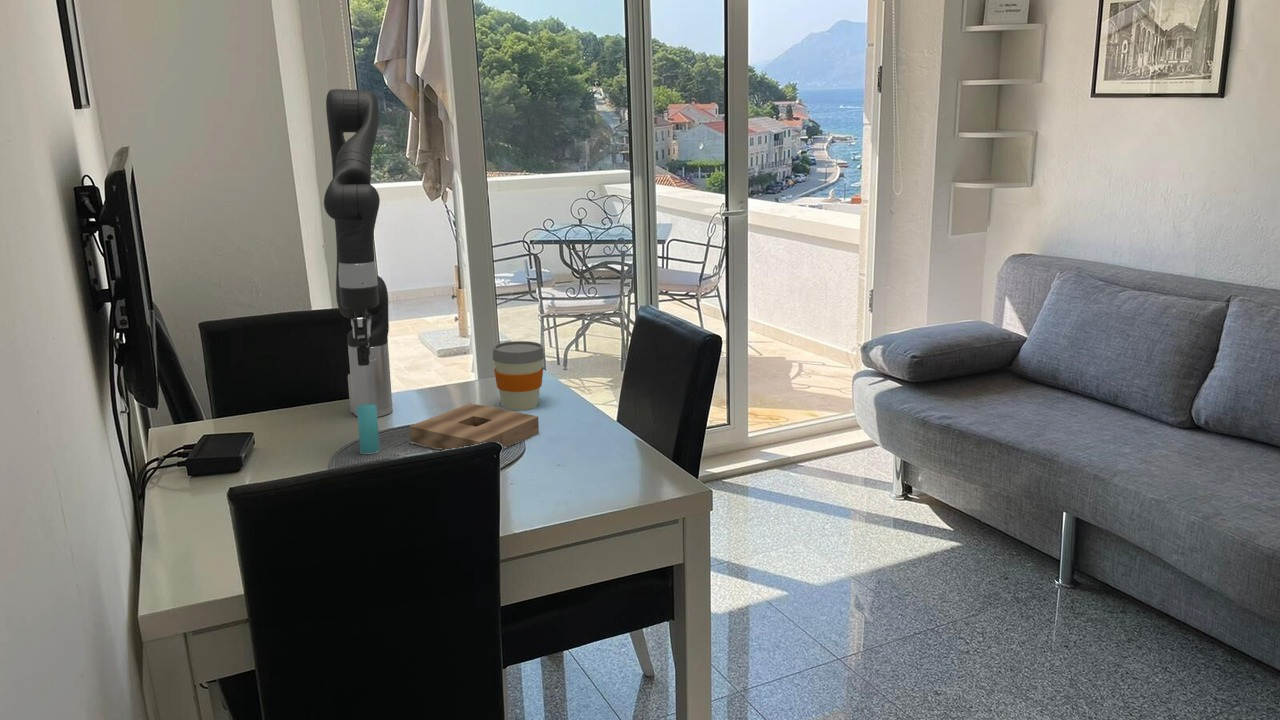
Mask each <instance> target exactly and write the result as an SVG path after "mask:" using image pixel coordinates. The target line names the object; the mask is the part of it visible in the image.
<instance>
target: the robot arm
mask: <svg viewBox="0 0 1280 720" xmlns="http://www.w3.org/2000/svg"><path fill="white" fill-rule="evenodd" d="M377 97H378V96H377V95H376V94H375V92H373V91H371V90H367V89H343V88H339V89H338V88H335V89H329V91H327V93H326V99H325V100H326V101H325V103H326V104H325V109H326V110H325V111H326V120H327V121H326V123H327V127H328V128H327V130H328V138H329V139H328V140H329V145H330V156H331V167H332V171H331V172H332V178H331V179H332V180H331V181H329V184H328V186H327V187H326V188H327V189H326V190H325V193H324V198H323V207H324V210H325V212H326V215H328V217H330V218H331V219H333V220H334V224H335V225H334V226H335V228H334V229H335V236H336V237H335V239H336V240H335V243H336V271H335V272H336V273H335V274H336V277H335V279H336V280H335V293H336V295H335V296H336V302H337V303H336V304H337V307H338V310H339V312H340V314H341V315H342V316H343V317H344V318H347V319H350V324H351V325H350V326H351V327H352V330H350V331H348V333H347V337H346V339H347V349H348V350H347V351H348V352H347V353H348V362H349V372H350V373H348V374H347V383H348V384H347V385H348V398H349V408H350V413H353V416H356V417H357V406H359V405H363V404H374V405H376V408H377V418H378V417H384V416H387V415H389V414H391V413H392V412H393V410H394V409H393V398H392V397H393V395H392V382H391V367H390V354H389V353H390V352H389V338H388V336H389V330H390V327H389V325H390V323H389V295H388V293H389V292H388V288H387V285H386V282H385V281H384V279H383V278H382V277H381V276H379V275H378V271H377V267H376V262H375V249H374V237H375V236H374V233H375V228H376V227H375V226H376V223H377V217H378V213H379V208H380V204H381V203H380V201H381V200H380V199H381V198H380V194H379V191H378V190H377V189H376V188H375V187H374V186H373V185H372V184H371V181H372V179H371V178H372V158H373V156H372V155H373V151H374V148H375V143H376V140H377V136H378V131H379V123H380V108H379V107H380V106H379V101H378V98H377ZM344 133H354V134H353V135H352V136H351V137H350V138H349V139H347V140H346V139H345V135H344Z"/></svg>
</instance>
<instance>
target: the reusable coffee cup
mask: <svg viewBox="0 0 1280 720" xmlns="http://www.w3.org/2000/svg"><path fill="white" fill-rule="evenodd" d="M544 358H545V353H544V346H543V345H542V344H541V343H539V342H535V341H526V340H525V341H524V340H519V341H518V340H517V341H516V340H515V341H506V342H505V341H504V342H501V343H497V344H496V345H494V346H493V350H492V360H493V361H494V367H495V368H494V369H493V371H494V377H495V382H496V388H497V389H498V390H499V396H500V403H501V407H502V408H503V409H504V410H508V411H514V412H517V411H518V412H519V411H529V410H533V409H535V408H537V407H538V406H539V400H540V399H539V398H540V388H541V387H542V386H543V385H542V384H543V375H544V366H543V359H544Z"/></svg>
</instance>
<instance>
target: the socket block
mask: <svg viewBox="0 0 1280 720" xmlns="http://www.w3.org/2000/svg"><path fill="white" fill-rule="evenodd" d="M539 423H540V422H539V416H538V415H534V414H533V415H532V414H528V413H522V412H519V411H518V412H517V411H514V410H507V409H504V408H503V409H502V408H497V407H492V406H488V405H487V406H486V405H481V404H478V403H477V404H475V403H471V402H469V403H467V404H465V405H462V406H459V407H456V408H453V409H451V410H449V411H446V412H443V413H441V414H439V415H435V416H433V417H430V418H428V419H425V420H422V421H420V422H417V423H415V424H412V425H409V440H410V441H412V442H416V443H419V444H422V445H425V446H427V447H434V448H442V449H437V451H440V450H445V449H452V448H459V447H464V446H471V445H475V444H480V443H484V442H490V441H494V442H499V443H501V444H502V446H503V450H505V449H504V446H505V447H508V446H510V445H512V444H514V443H516V442H518V441H521V442H523V441H526V440H527V439H530V438H532V437H534V436H535V435H536V436H537V435H538V434H539V433H540V428H539V427H540V426H539ZM522 440H523V441H522ZM427 447H426V448H427ZM510 447H511V446H510ZM508 448H509V447H508ZM503 450H502V451H503Z"/></svg>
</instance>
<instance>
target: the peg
mask: <svg viewBox="0 0 1280 720" xmlns="http://www.w3.org/2000/svg"><path fill="white" fill-rule="evenodd" d="M356 417H357V427H358V438H359V439H358V441H359V453H360V452H362V453H373V452H376V451H378V450H379V449H380V450H381V448H380V437H379V425H378V417H377V408H376V405H374V404H363V405H359V406H357V416H356Z"/></svg>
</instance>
